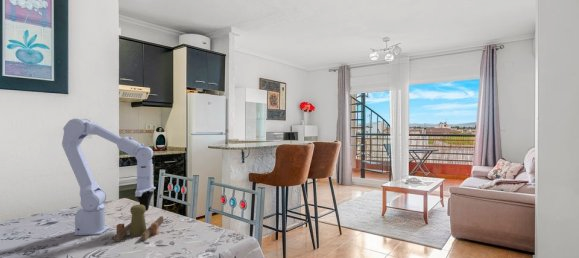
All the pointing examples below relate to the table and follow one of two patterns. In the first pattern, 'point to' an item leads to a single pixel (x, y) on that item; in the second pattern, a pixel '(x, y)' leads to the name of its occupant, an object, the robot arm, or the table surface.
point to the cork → (137, 220)
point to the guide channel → (150, 231)
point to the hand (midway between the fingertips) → (144, 210)
